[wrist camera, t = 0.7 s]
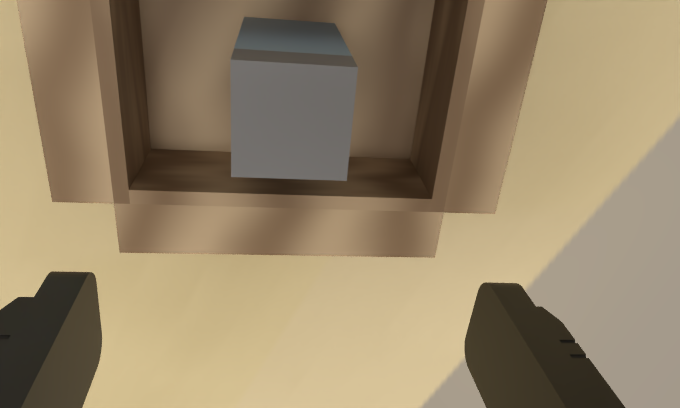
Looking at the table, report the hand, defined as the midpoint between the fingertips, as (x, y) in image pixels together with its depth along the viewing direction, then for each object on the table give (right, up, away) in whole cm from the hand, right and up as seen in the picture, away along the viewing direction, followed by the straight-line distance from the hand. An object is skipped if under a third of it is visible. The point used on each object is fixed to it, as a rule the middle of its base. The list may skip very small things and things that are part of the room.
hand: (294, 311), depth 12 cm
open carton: (-2, +10, +20) cm, 23 cm away
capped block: (-2, +10, +20) cm, 22 cm away
